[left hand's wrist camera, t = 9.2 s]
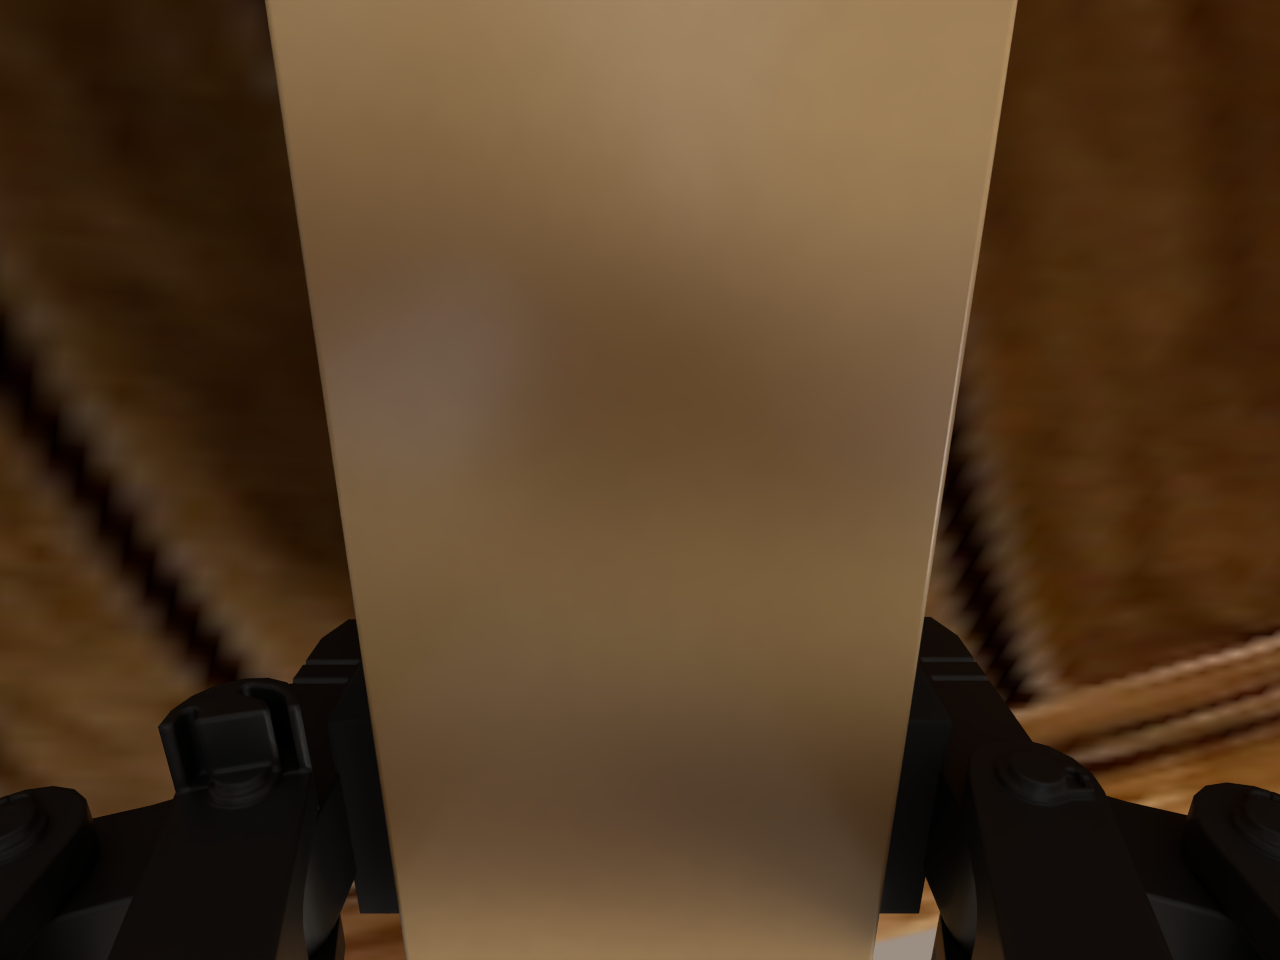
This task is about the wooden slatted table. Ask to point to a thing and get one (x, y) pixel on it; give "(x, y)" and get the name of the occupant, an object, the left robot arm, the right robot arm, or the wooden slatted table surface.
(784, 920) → the post
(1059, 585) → the wooden slatted table surface
